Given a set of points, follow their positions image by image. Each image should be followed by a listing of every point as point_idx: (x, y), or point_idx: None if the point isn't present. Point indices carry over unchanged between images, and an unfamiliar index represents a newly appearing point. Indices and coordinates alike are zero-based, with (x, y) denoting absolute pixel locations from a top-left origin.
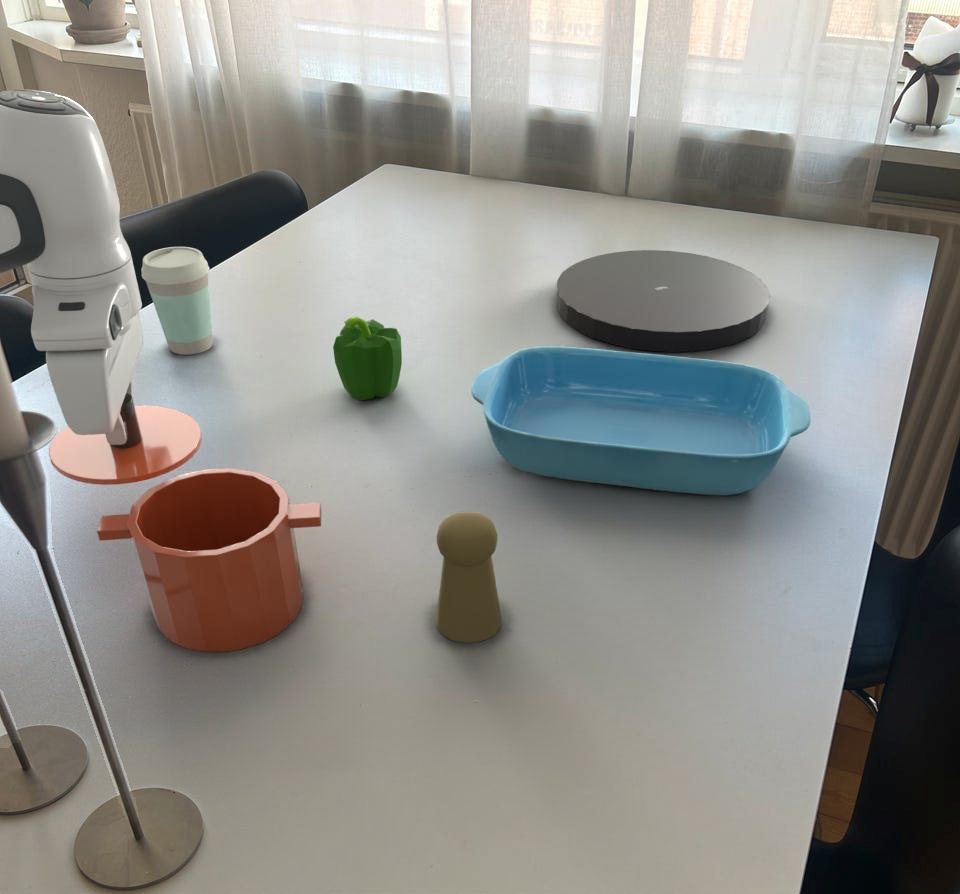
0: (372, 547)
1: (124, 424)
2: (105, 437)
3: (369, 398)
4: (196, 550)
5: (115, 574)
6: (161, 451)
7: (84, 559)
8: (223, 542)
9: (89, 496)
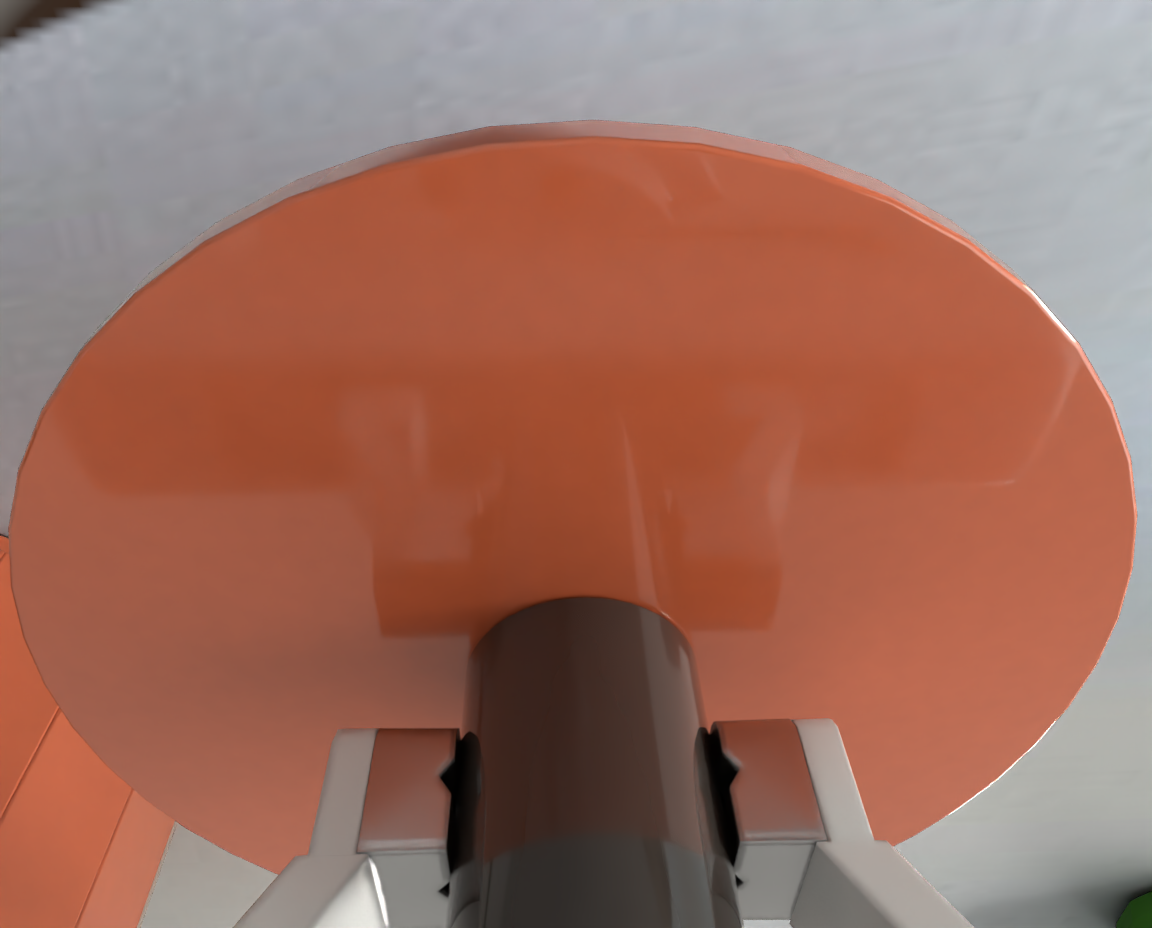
0: None
1: (402, 925)
2: (644, 564)
3: (1118, 921)
4: None
5: (17, 319)
6: None
7: (108, 144)
8: None
9: (765, 47)
